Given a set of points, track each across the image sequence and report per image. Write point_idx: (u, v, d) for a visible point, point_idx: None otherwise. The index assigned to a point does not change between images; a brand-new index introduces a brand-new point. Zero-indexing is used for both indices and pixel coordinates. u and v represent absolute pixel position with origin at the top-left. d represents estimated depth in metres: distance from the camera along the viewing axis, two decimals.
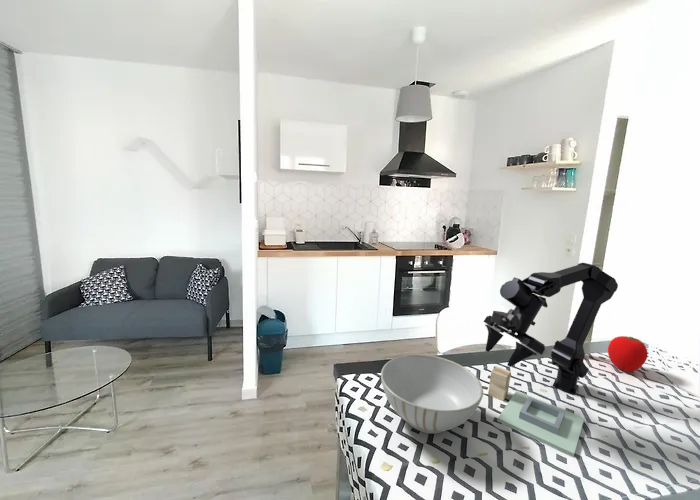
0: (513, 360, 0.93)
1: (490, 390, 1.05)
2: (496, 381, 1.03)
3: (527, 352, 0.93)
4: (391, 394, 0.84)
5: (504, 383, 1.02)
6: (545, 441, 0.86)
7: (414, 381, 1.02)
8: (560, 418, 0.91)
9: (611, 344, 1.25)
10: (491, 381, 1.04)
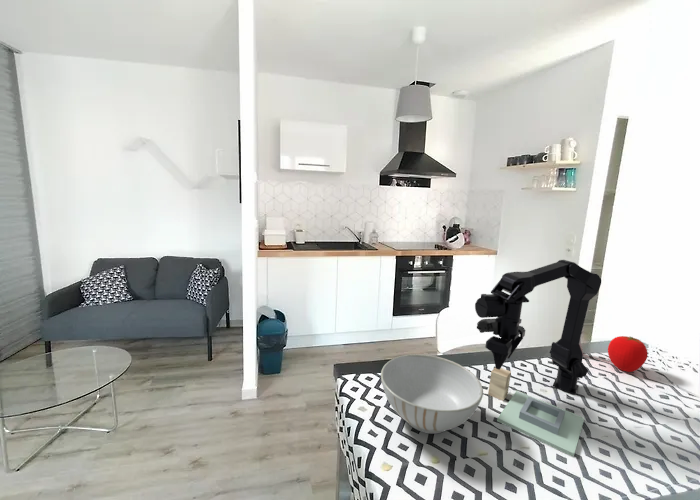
0: (496, 362, 0.99)
1: (490, 390, 1.05)
2: (496, 381, 1.03)
3: None
4: (391, 394, 0.84)
5: (504, 383, 1.02)
6: (545, 441, 0.86)
7: (414, 381, 1.02)
8: (560, 418, 0.91)
9: (611, 344, 1.25)
10: (491, 381, 1.04)
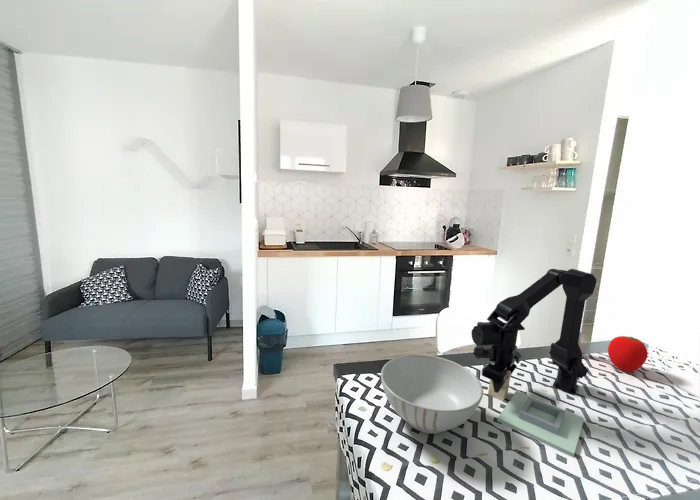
0: (494, 386, 1.03)
1: (490, 390, 1.05)
2: None
3: None
4: (391, 394, 0.84)
5: (504, 383, 1.02)
6: (545, 441, 0.86)
7: (414, 381, 1.02)
8: (560, 418, 0.91)
9: (611, 344, 1.25)
10: (491, 381, 1.04)
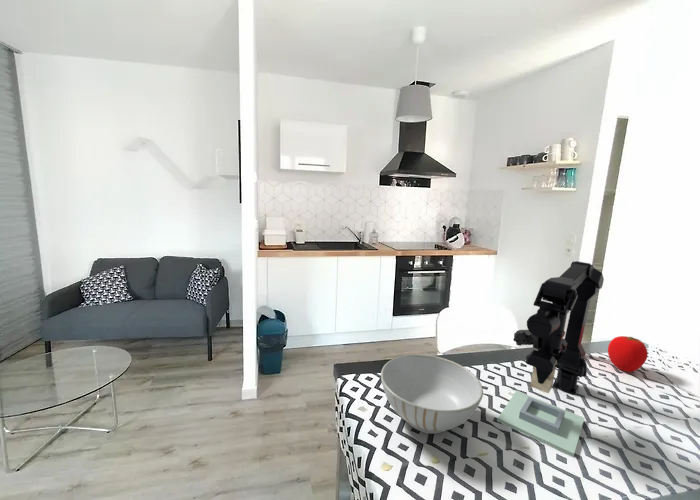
0: (538, 376, 0.91)
1: (533, 381, 0.93)
2: None
3: None
4: (391, 394, 0.84)
5: None
6: (545, 441, 0.86)
7: (414, 381, 1.02)
8: (560, 418, 0.91)
9: (611, 344, 1.25)
10: (534, 371, 0.92)
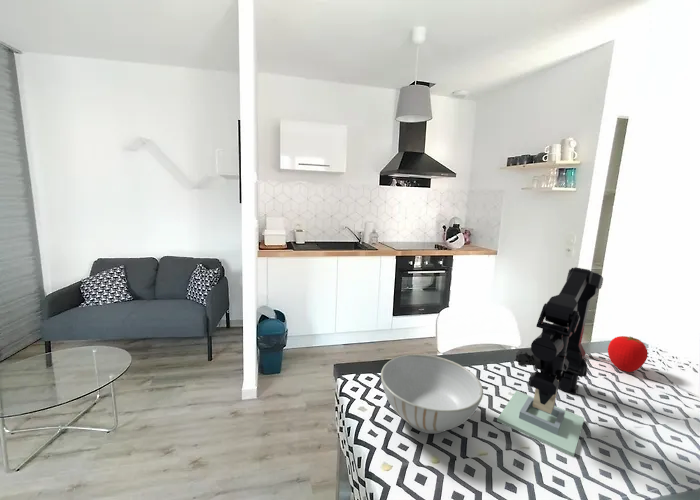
0: (541, 397, 0.91)
1: (535, 401, 0.93)
2: None
3: None
4: (391, 394, 0.84)
5: None
6: (545, 441, 0.86)
7: (414, 381, 1.02)
8: (560, 418, 0.91)
9: (611, 344, 1.25)
10: (536, 391, 0.92)
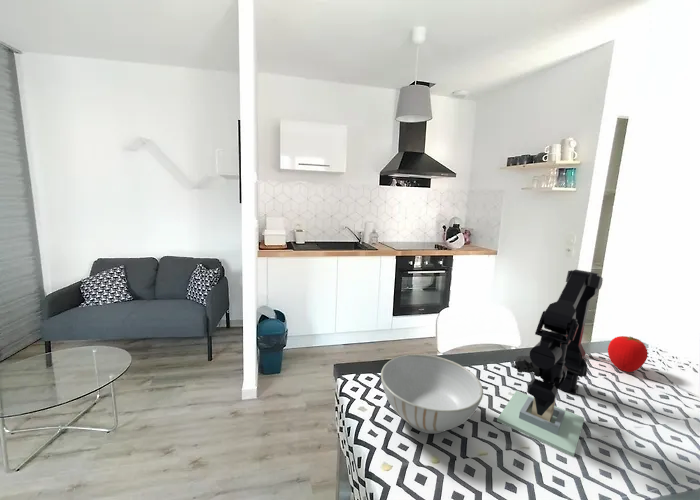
0: (538, 408, 0.89)
1: (533, 413, 0.93)
2: None
3: None
4: (391, 394, 0.84)
5: (550, 406, 0.90)
6: (545, 441, 0.86)
7: (414, 381, 1.02)
8: (560, 418, 0.91)
9: (611, 344, 1.25)
10: (535, 403, 0.93)
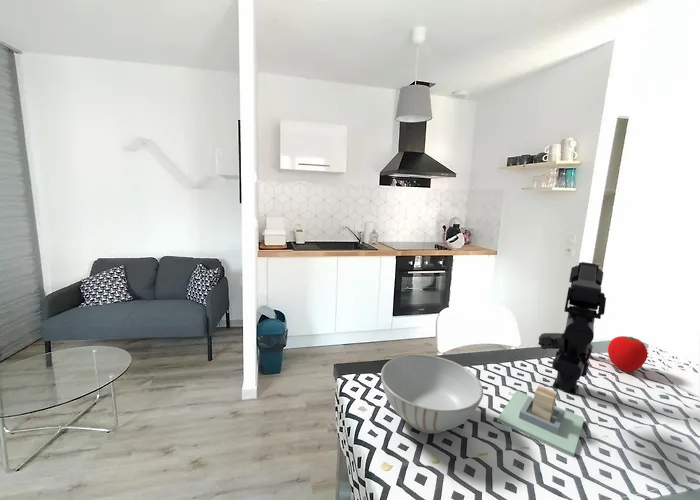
0: (563, 384, 0.88)
1: (533, 413, 0.93)
2: (540, 402, 0.92)
3: None
4: (391, 394, 0.84)
5: (550, 406, 0.90)
6: (545, 441, 0.86)
7: (414, 381, 1.02)
8: (560, 418, 0.91)
9: (611, 344, 1.25)
10: (535, 403, 0.93)
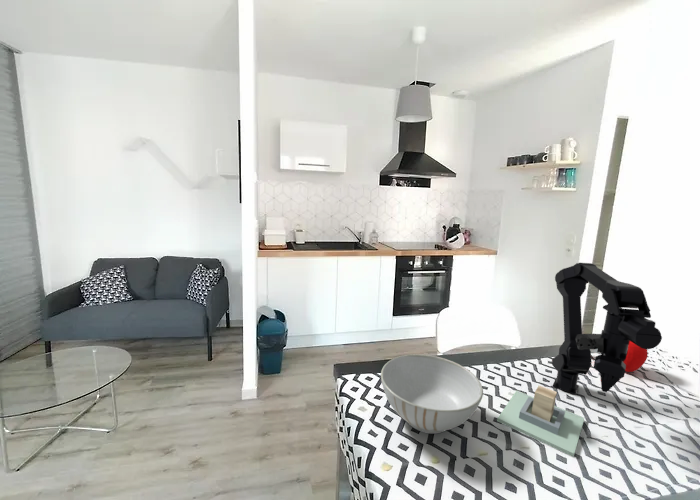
0: (603, 384, 0.88)
1: (533, 413, 0.93)
2: (540, 402, 0.92)
3: None
4: (391, 394, 0.84)
5: (550, 406, 0.90)
6: (545, 441, 0.86)
7: (414, 381, 1.02)
8: (560, 418, 0.91)
9: None
10: (535, 403, 0.93)
